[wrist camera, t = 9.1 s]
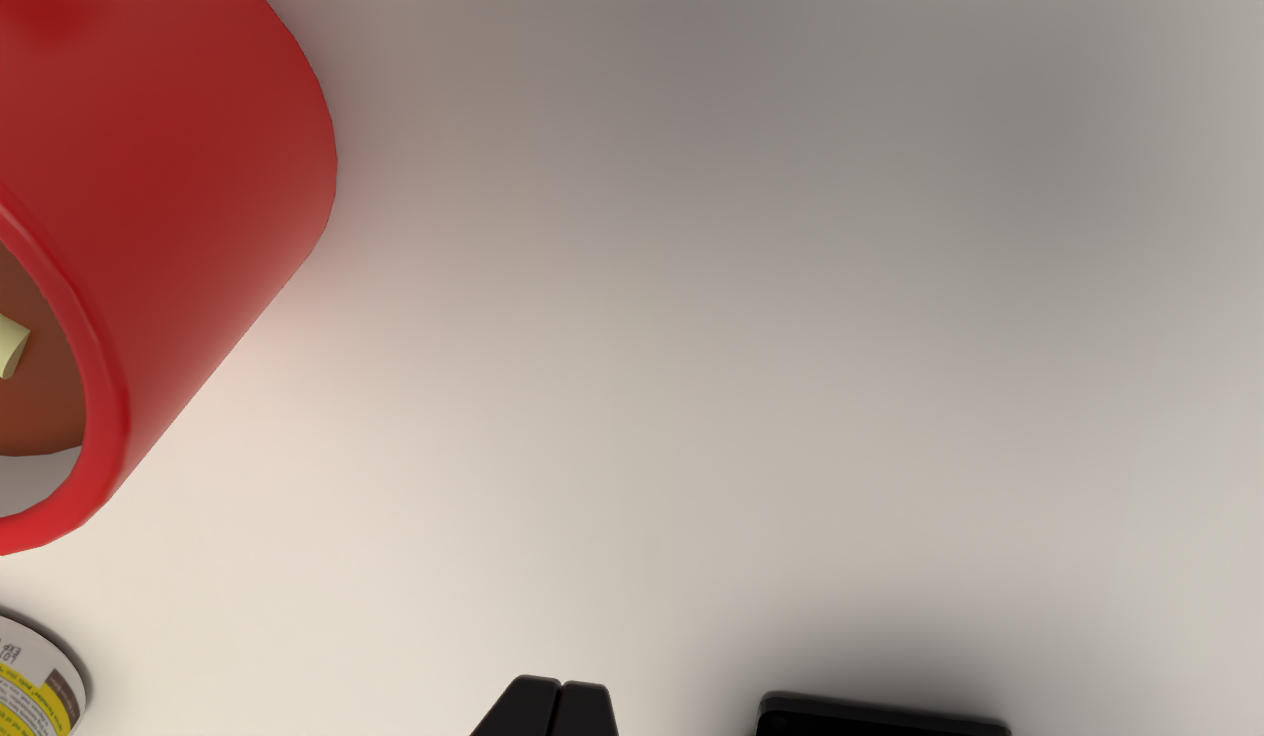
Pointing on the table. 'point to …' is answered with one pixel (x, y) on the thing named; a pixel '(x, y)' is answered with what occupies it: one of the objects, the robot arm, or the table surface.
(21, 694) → the supplement bottle
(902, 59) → the table surface
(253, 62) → the mug
